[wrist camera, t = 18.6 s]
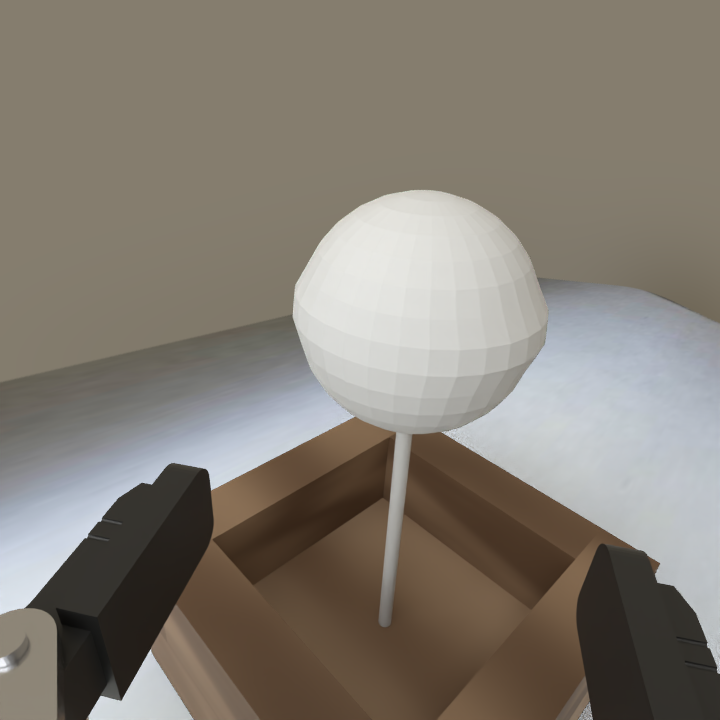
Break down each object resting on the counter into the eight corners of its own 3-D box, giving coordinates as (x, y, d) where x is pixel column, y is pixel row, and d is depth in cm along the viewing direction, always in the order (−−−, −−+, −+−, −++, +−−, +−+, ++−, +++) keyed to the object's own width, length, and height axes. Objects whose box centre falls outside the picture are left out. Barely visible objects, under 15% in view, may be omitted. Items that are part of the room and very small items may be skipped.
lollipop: (265, 655, 18) (232, 199, 10) (343, 534, 23) (358, 160, 15) (443, 747, 16) (558, 252, 8) (488, 591, 20) (587, 187, 13)
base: (377, 501, 28) (387, 400, 25) (604, 676, 21) (660, 563, 18) (152, 653, 21) (125, 534, 17) (385, 1022, 13) (413, 930, 10)
